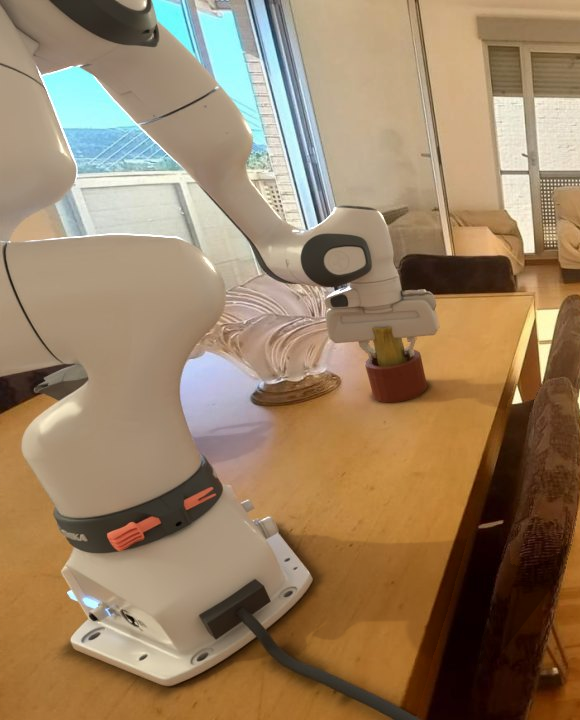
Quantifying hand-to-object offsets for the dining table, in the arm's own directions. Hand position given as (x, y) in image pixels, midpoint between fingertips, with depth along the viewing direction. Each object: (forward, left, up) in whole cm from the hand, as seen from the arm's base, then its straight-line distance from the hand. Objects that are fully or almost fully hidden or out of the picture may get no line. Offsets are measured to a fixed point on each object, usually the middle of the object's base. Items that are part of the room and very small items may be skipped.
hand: (392, 358), depth 97 cm
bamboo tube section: (0, 0, -7) cm, 7 cm away
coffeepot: (+26, +35, -8) cm, 44 cm away
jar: (0, 0, -8) cm, 8 cm away
